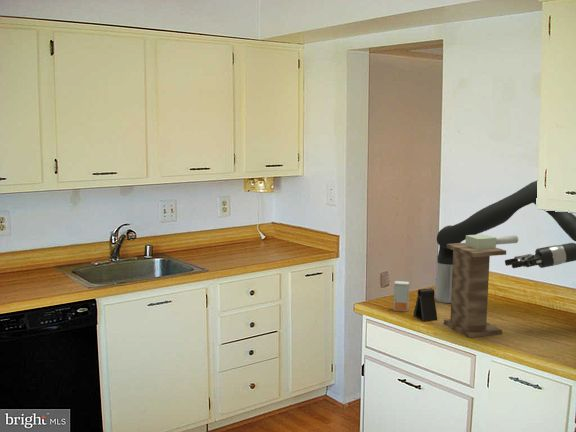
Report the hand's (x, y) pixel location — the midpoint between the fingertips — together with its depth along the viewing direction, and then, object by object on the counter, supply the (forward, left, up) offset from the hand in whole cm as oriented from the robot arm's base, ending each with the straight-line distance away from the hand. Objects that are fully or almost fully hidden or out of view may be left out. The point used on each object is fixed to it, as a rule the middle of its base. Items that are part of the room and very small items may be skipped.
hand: (508, 264), depth 261 cm
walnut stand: (-3, -13, -25) cm, 28 cm away
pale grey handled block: (-3, -5, +7) cm, 9 cm away
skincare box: (-34, -27, -25) cm, 50 cm away
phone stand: (-21, -23, -25) cm, 40 cm away
